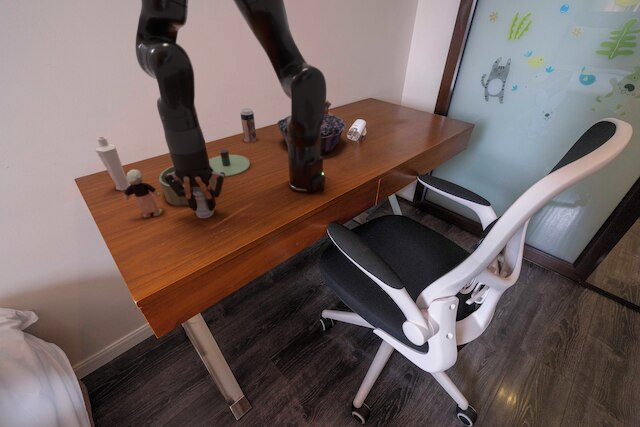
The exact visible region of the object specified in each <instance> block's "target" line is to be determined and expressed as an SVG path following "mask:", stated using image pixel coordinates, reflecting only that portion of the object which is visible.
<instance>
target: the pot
mask: <svg viewBox="0 0 640 427" xmlns="http://www.w3.org/2000/svg"><path fill="white" fill-rule="evenodd" d="M210 167H211V168H212V169H213V171H214V172H215V169H214V168H213V166H212V165H210ZM169 172H175V167H174V165H172V166H168V167H167V168H166V169H164V170H163V171H162V172H160V174H159V176H158V180H159V184H160V187H161V189H162V191H163V195H164V197H165V200H166V201H167V203H168V204H170V205H172V206H175V207H179V206H189V203H188V200H187V198H186V197H183V196H182V197H179V196H178V195H177V194H176V193H175V192H174V190H173V189H172V188H171V187H170V185H169V184H168V183H167V182H166V180H165V179H164V178H165V176H166V175H167V174H168V173H169ZM178 180H179V181H180V183H181V184H182V183H183V182H182V181H181V180H180V179H179V178H178ZM210 182H211V186H212V188H213V190H215V187H216V183H217V182H215V181H214V178H213V177H211V178H210ZM183 187H184V185H183ZM184 188H185V187H184ZM197 188H198V187H197ZM194 189H195V188H194ZM206 198H207V197H206Z"/></svg>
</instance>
